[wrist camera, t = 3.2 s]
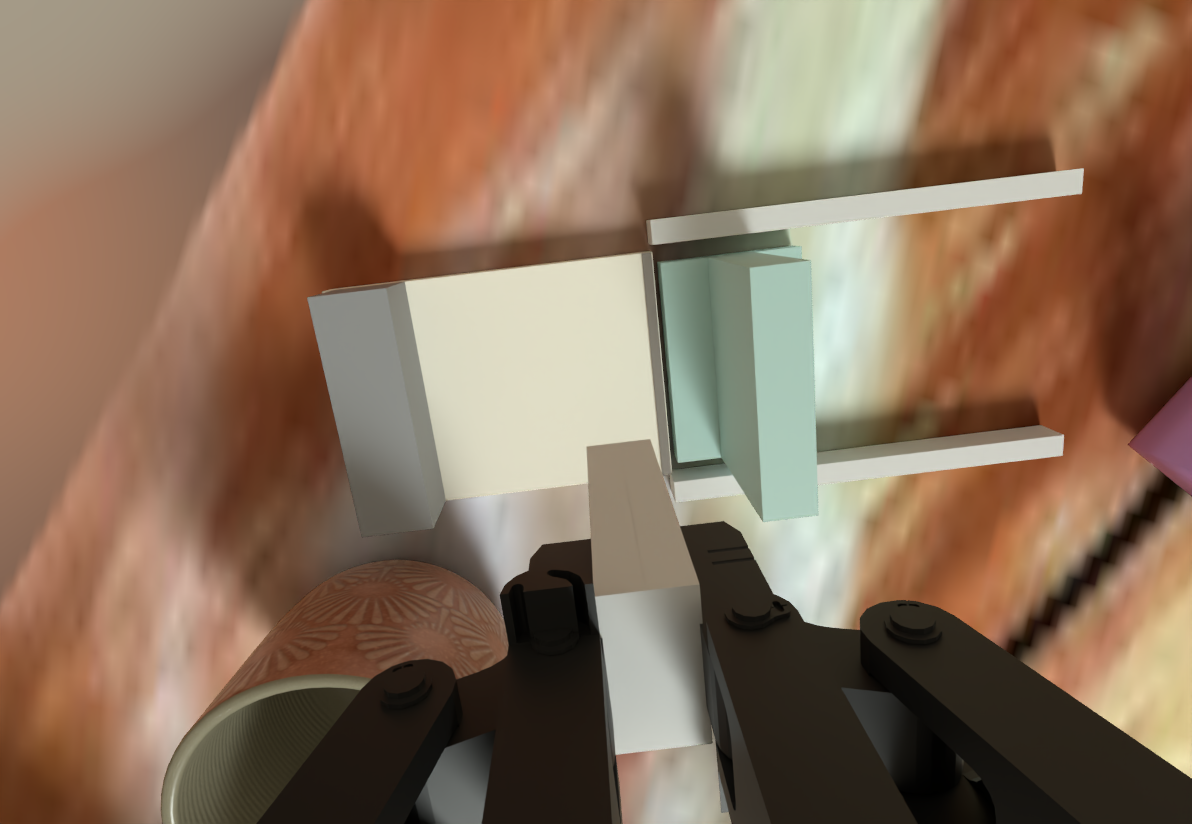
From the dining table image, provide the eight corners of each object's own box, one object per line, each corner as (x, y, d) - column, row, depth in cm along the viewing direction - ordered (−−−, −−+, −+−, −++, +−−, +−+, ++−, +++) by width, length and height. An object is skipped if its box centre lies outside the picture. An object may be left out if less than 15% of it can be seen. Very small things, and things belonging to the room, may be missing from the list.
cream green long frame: (382, 524, 33) (356, 566, 29) (325, 258, 29) (285, 264, 25) (1039, 444, 33) (1105, 475, 29) (1056, 171, 30) (1134, 162, 26)
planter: (238, 666, 35) (93, 858, 24) (372, 484, 32) (277, 609, 22) (441, 783, 37) (389, 1004, 26) (579, 621, 35) (583, 794, 24)
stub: (674, 454, 32) (708, 528, 24) (657, 261, 30) (688, 275, 22) (799, 439, 32) (873, 508, 24) (792, 245, 30) (872, 253, 22)
